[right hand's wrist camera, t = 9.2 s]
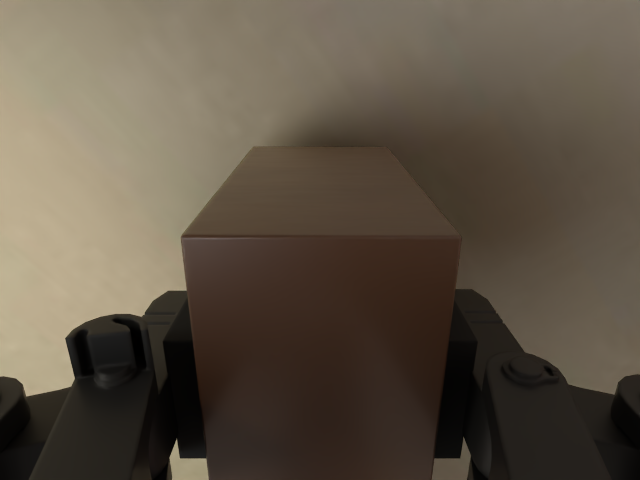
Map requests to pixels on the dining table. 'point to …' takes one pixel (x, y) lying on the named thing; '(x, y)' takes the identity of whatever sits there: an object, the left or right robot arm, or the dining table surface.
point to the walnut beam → (320, 317)
